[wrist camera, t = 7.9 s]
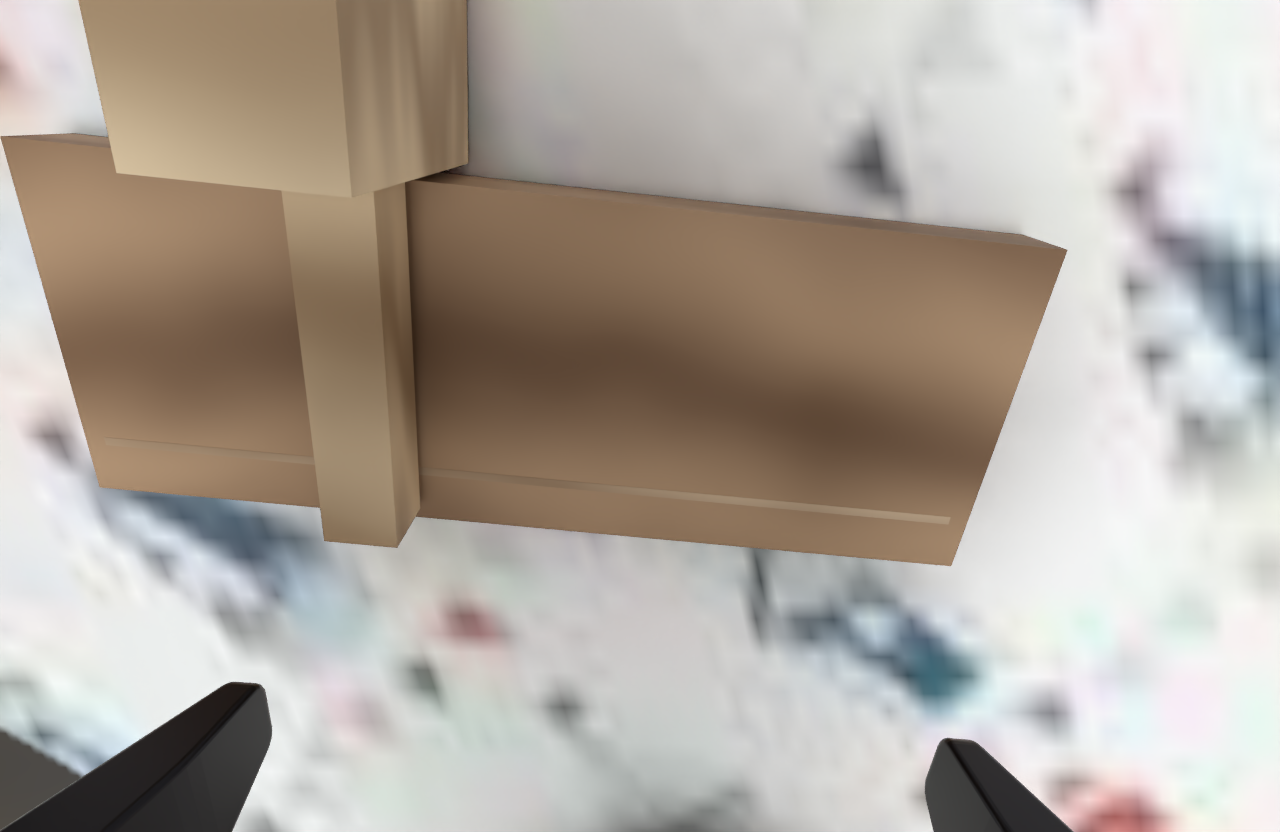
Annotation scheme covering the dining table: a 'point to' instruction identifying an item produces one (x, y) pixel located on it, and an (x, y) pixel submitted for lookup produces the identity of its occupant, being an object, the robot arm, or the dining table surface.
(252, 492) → the board
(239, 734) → the robot arm
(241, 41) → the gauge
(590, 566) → the dining table surface
